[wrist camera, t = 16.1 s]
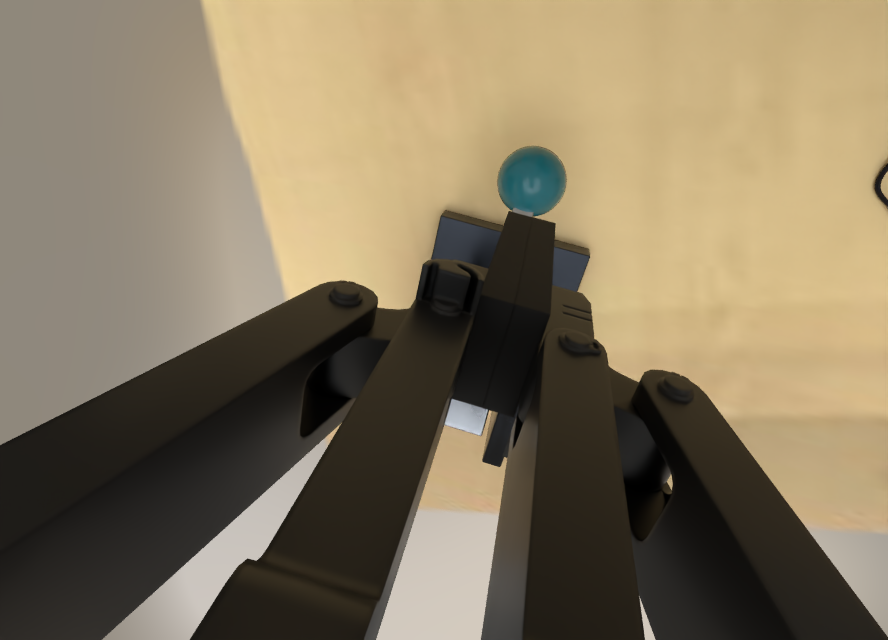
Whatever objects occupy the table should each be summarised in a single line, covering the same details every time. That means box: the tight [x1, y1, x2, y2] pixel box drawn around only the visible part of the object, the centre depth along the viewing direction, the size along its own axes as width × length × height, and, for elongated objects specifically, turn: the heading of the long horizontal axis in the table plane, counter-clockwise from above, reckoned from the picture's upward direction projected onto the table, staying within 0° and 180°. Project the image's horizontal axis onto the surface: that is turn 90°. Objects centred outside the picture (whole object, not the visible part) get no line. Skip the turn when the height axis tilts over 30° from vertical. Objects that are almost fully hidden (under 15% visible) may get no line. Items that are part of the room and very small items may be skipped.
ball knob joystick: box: [444, 146, 567, 436], centre depth 28 cm, size 15×4×4 cm, turn 168°
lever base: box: [431, 210, 590, 467], centre depth 33 cm, size 12×10×14 cm
